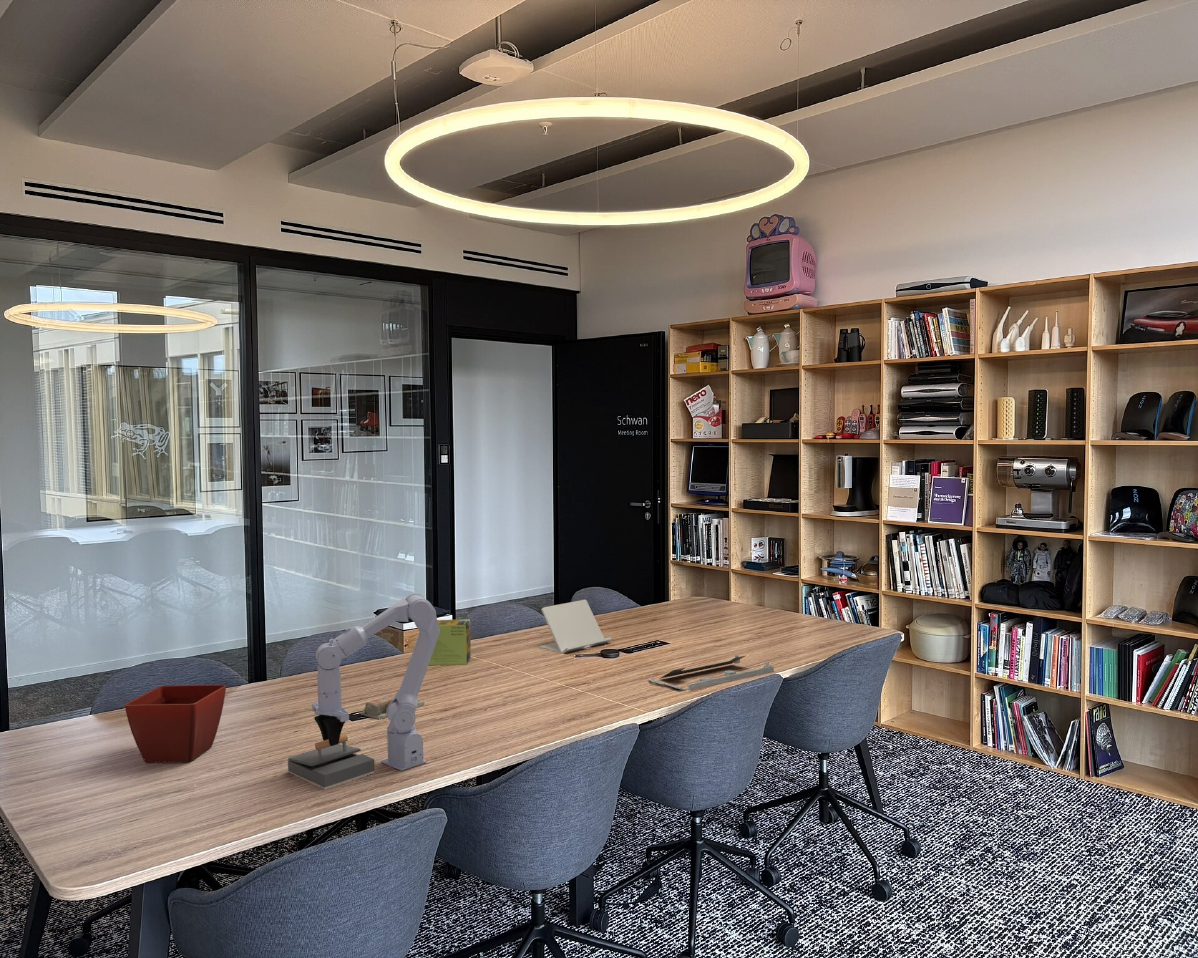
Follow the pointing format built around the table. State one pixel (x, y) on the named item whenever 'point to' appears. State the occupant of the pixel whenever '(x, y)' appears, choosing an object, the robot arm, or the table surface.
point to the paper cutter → (727, 678)
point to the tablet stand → (572, 627)
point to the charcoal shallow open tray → (334, 770)
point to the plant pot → (176, 721)
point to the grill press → (325, 752)
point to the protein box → (452, 643)
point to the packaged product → (381, 707)
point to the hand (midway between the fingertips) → (331, 743)
